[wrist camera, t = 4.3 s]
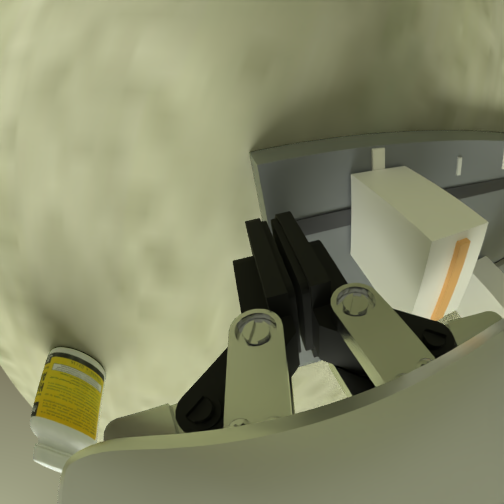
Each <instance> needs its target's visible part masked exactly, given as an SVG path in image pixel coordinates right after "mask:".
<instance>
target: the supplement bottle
mask: <svg viewBox="0 0 504 504" xmlns="http://www.w3.org/2000/svg"><path fill="white" fill-rule="evenodd" d="M105 380H106V374H105V371H104V369H103V368H102V366H101V365H100V364H99V363H98V362H97V361H96V360H94V359H93V358H91V357H90V356H88V355H86V354H84V353H82V352H80V351H77V350H74V349H70V348H65V347H57V348H54V349H52V350H51V351H50V353H49V355H48V357H47V360H46V363H45V367H44V370H43V373H42V376H41V380H40V383H39V387H38V390H37V394H36V398H35V402H34V406H33V411H32V414H31V420H30V427H31V429H32V431H33V433H34V434H35V435H36V436H37V437H38V438H39V443H38V444H35V447H34V455H33V460H34V461H35V462H37V463H39V464H41V465H43V466H45V467H47V468H50V469H52V470H55V471H57V472H60V473H62V470H63V467H64V465H65V463H66V461H67V460H68V459H69V458H70V457H71V456H72V455H74V454H75V453H76V452H78V451H80V450H82V449H84V448H86V447H88V446H90V445H93V444H96V443H97V436H98V426H99V418H100V411H101V404H102V397H103V392H104V386H105Z"/></svg>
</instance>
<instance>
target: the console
mask: <svg viewBox="0 0 504 504" xmlns="http://www.w3.org/2000/svg"><path fill="white" fill-rule="evenodd" d="M249 154H250V159H251V164H252V169H253V174H254V179H255V184H256V189H257V195H258V200H259V205H260V210H261V216H262V221H267V224H268V226H269V228H270V231H271V233H272V227H271V221H270V220H271V219H275V214H279V213H283V212H288V211H290V212H291V213H292V215H293V217H294V218H295V220H296V222H297V223H298V225H299V227H300V228H301V230H302V232H303V233H304V235H305V237H306V238H307V240H308V242H311V241H315V240H320V241H321V242H322V244H323V245H324V247H325V248H326V250H327V251H328V253H329V254H330V256H331V257H332V259H333V261H334V262H335V264H336V265H337V267H338V269H339V270H340V272H341V273H342V275H343V277H344V278H345V280H346V281H347V283H348V284H349V283H362V284H366V285H368V286H370V287H372V288H373V289H374V287H373V286H372V284H371V283H370V281H369V280H368V279H367V277H366V276H365V274H364V273H363V271H362V270H361V269H360V267H359V266H358V264H357V263H356V262H355V260H354V259H353V257H352V256H351V255H350V252H351V174H354V173H361V172H367V171H373V170H380V169H386V168H393V167H401V166H406V167H408V168H409V169H411V170H413V171H415V172H416V173H418V174H420V175H421V176H423V177H425V178H426V179H428V180H429V181H431V182H433V183H434V184H436V185H437V186H439V187H440V188H442V189H443V190H445V191H447V192H448V193H449V194H451V195H452V196H454V197H455V198H457V199H458V200H460V201H461V202H462V203H464V204H465V205H467V206H468V207H469V208H471V209H472V210H473V211H475V212H476V213H477V214H479V215H480V216H481V217H483V218H484V219H485V220H486V221H488V222H489V223H488V226H487V230H486V233H485V237H484V240H483V244H482V247H481V250H480V253H479V256H478V259H477V260H479V259H481V258H483V257H485V256H487V257H488V258H489V259H490V260H491V261H492V262H493V263H494V264H495V265H496V266H497V267H498V268H499V269H500V270H501V271H502V272H503V273H504V133H500V132H485V131H458V130H432V131H403V132H387V133H374V134H363V135H354V136H345V137H336V138H329V139H321V140H315V141H308V142H302V143H296V144H290V145H284V146H279V147H273V148H268V149H263V150H258V151H253V152H249ZM272 235H273V233H272ZM374 290H375V289H374ZM300 342H301V353H299V359H300V365H299V367H300V366H304V365H307V364H311V363H314V362H318V361H321V359H319V357H315V358H314V356H313V354H312V351H311V350H308V351H306V350H305V348H304V345H303V342H302V339H301V336H300Z"/></svg>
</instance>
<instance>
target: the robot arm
mask: <svg viewBox="0 0 504 504" xmlns="http://www.w3.org/2000/svg"><path fill="white" fill-rule="evenodd" d="M270 221H271V227H272V233H273V235H272V233H271V231H270V228H269V226H268V224H267V221H262V222H261V220H260V218H258V219H254V220H250V221H246V222H245V224H246V228H247V233H248V237H249V241H250V245H251V250H252V254H253V256H251V257H247V258H243V259H238V260H234V261H233V266H234V272H235V278H236V284H237V290H238V296H239V302H240V308H241V314H240V315H239V316H238V317H237V318H235V319H234V321H233V322H232V324H231V325H230V329H229V336H228V347H227V348H226V350H225V351H224V352H223V353H222V354H221V355H220V356H219V357H218V358H217V360H216V361H215V362H214V363H213V364H212V365H211V366H210V367H209V368H208V370H207V371H206V372H205V373H204V374H203V375H202V376H201V377H200V378H199V379H198V381H197V382H196V383H195V384H194V385H193V386H192V387H191V388H190V389H189V390H188V391H187V392H186V393H185V394H184V396H183V397H182V398H181V399H180V401H179V402H178V403H177V404H174V405H171V406H170V405H169V404H165V405H161V406H158V407H155V408H152V409H149V410H145V411H142V412H138V413H135V414H131V415H128V416H124V417H120V418H117V419H115V420H113V421H111V422H110V423H109V424H108V425H107V426H106V429H105V431H104V441H103V442H99V443H96V444H93V445H90V446H88V447H86V448H84V449H82V450H80V451H78V452H76V453H75V454H74V455H72V456H71V457H70V458H69V459H68V460H67V461H66V463H65V465H64V467H63V470H62V473H61V477H60V482H59V490H58V504H504V318H502V317H501V316H500V315H499V314H497V313H496V312H493V311H485V312H482V313H478V314H474V315H471V316H467V317H463V318H459V319H455V320H450V321H447V323H446V325H444V324H442V323H440V322H437V321H434V320H430V319H427V318H423V317H420V316H417V315H413V314H410V313H406V312H403V311H400V310H396V309H393V308H392V307H391V306H390V305H389V304H388V303H387V302H386V301H385V300H384V299H383V298H382V297H381V295H380V294H379V293H378V292H377V291H376V290H374V289H373V288H372V287H370V286H368V285H366V284H362V283H349V284H348V283H347V281H346V280H345V278H344V277H343V275H342V273H341V272H340V270H339V269H338V267H337V265H336V264H335V262H334V261H333V259H332V257H331V256H330V254H329V253H328V251H327V250H326V248H325V247H324V245H323V244H322V242H321V241H320V240H315V241H311V242H308V240H307V238H306V237H305V235H304V233H303V232H302V230H301V228H300V227H299V225H298V223H297V222H296V220H295V218H294V217H293V215H292V213H291V212H290V211H288V212H283V213H279V214H275V219H271V220H270ZM300 336H301V339H302V342H303V345H304V348H305V350H306V351H308V350H311V351H312V354H313V356H314V358H315V357H319V359H321V360H323V361H326V362H328V364H329V367H330V369H331V371H332V373H333V374H334V376H335V378H336V379H337V381H338V383H339V384H340V386H341V388H342V389H343V391H344V393H345V394H346V396H347V398H346V399H343V400H340V401H337V402H334V403H331V404H328V405H324V406H321V407H318V408H315V409H311V410H308V411H304V412H300V413H297V414H295V406H294V395H293V385H292V376H293V374H294V373H295V371H296V370H297V368H298V367H299V365H300V359H299V353H301V342H300Z"/></svg>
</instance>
